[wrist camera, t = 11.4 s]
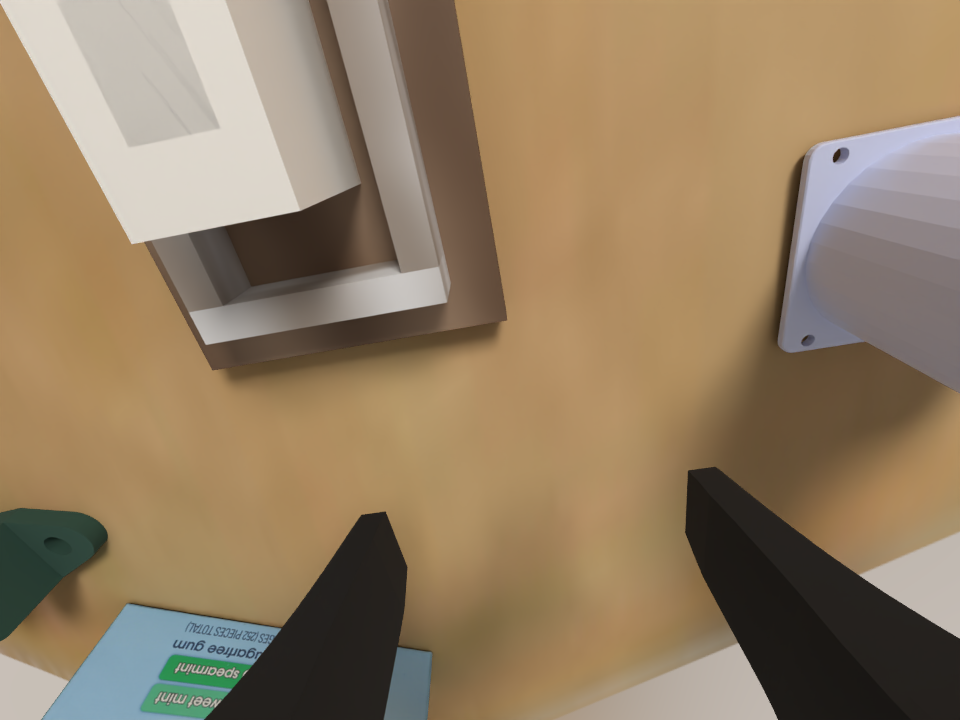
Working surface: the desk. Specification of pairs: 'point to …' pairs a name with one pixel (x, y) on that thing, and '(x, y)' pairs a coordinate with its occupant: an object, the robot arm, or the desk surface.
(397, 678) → the gum box
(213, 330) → the cradle
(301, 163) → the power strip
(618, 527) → the desk surface
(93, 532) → the mount
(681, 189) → the desk surface
